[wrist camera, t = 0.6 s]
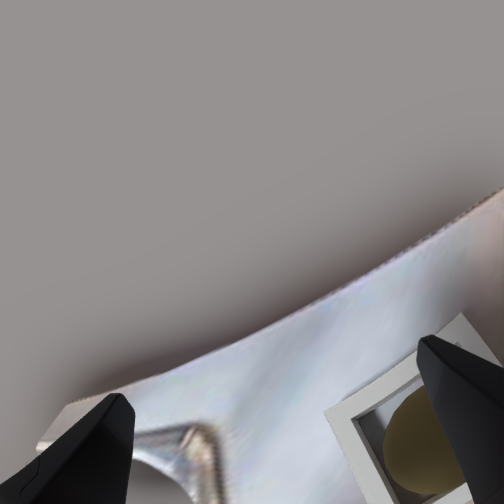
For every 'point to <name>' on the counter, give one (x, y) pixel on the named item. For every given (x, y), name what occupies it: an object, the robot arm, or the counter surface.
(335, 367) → the counter surface
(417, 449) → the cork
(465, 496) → the collar block
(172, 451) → the counter surface
